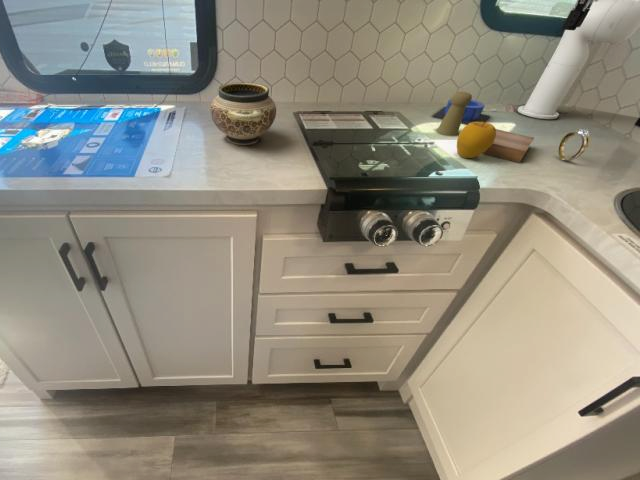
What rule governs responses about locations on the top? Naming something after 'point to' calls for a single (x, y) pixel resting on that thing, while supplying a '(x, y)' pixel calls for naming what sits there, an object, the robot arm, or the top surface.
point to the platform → (509, 145)
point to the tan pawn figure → (455, 114)
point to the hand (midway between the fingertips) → (570, 28)
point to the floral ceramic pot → (243, 112)
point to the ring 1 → (470, 110)
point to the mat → (481, 119)
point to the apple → (475, 139)
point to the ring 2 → (584, 146)
